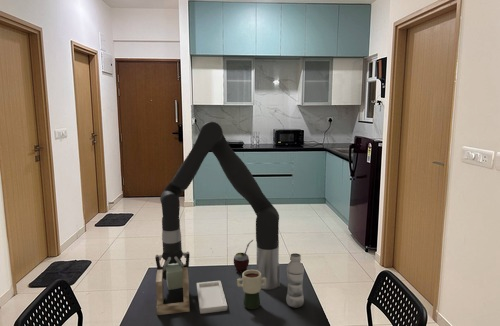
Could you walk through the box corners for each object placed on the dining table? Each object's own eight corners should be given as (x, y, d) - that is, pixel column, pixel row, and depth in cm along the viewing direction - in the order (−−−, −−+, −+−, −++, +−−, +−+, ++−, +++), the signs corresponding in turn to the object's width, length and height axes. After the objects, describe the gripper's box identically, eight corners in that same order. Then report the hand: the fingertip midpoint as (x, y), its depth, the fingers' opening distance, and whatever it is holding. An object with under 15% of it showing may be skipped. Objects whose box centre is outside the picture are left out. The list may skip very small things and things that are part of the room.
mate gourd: (230, 271, 164) (230, 240, 162) (242, 266, 170) (241, 235, 168) (242, 276, 159) (242, 244, 157) (254, 270, 165) (254, 239, 163)
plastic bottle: (303, 311, 132) (304, 259, 129) (285, 309, 133) (285, 258, 130) (304, 301, 138) (305, 252, 135) (286, 300, 139) (287, 251, 136)
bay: (188, 295, 143) (187, 267, 141) (189, 311, 132) (188, 280, 130) (158, 298, 141) (157, 269, 139) (157, 315, 130) (155, 284, 128)
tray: (220, 284, 152) (220, 280, 151) (227, 310, 132) (227, 305, 132) (196, 287, 150) (196, 282, 149) (200, 313, 130) (200, 308, 130)
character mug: (265, 300, 139) (265, 269, 137) (267, 310, 132) (267, 277, 130) (237, 301, 138) (236, 269, 137) (237, 311, 131) (237, 278, 130)
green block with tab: (178, 269, 159) (177, 254, 158) (183, 287, 143) (182, 270, 142) (164, 272, 157) (163, 256, 156) (168, 289, 141) (167, 273, 140)
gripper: (189, 234, 151) (190, 272, 153) (153, 237, 148) (156, 276, 150) (190, 240, 144) (191, 280, 146) (153, 244, 141) (155, 284, 143)
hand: (173, 277), depth 148 cm, fingers closed on green block with tab, 6 cm apart
